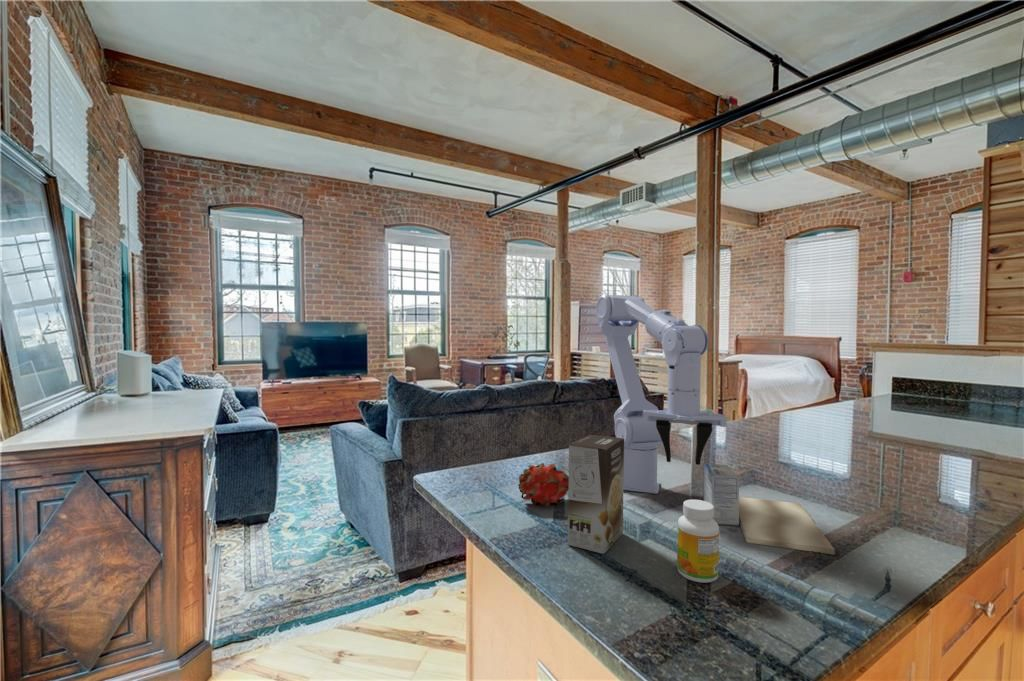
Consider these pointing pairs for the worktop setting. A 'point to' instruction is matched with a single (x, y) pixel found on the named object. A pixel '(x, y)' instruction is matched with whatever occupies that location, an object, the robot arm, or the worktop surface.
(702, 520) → the supplement bottle
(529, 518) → the worktop surface
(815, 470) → the worktop surface
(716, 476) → the medicine box
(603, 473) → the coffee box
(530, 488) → the dragon fruit
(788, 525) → the board
